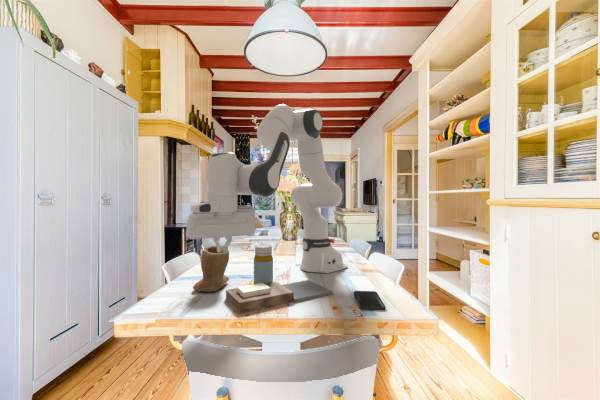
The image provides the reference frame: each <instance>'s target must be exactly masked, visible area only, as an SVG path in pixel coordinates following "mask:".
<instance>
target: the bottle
mask: <svg viewBox="0 0 600 400" xmlns="http://www.w3.org/2000/svg"><path fill="white" fill-rule="evenodd" d="M270 282H274V257H273V246H272V245H271V244H257V245H255V246H254V258H253V284H259V283H270Z"/></svg>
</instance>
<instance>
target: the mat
mask: <svg viewBox="0 0 600 400" xmlns="http://www.w3.org/2000/svg"><path fill="white" fill-rule="evenodd" d="M281 285H282V286H284V287H286V288H287V289H289V290H291V291H293V292H294V301H293V302H294V303H298V302H303V301H308V300H312V299H317V298H323V297H325V296H330V295H333V294H334V291H333V290H331V289H329V288H327V287H326V286H325V287H324V286H323V285H320V284H319V283H316V282H314V281H312V280H310V279H307V280H303V281H302V280H301V281H295V282H291V283H290V282H289V283H284V284H281Z"/></svg>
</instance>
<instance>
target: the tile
mask: <svg viewBox="0 0 600 400" xmlns="http://www.w3.org/2000/svg"><path fill="white" fill-rule="evenodd" d="M236 288H237V292H238V293H239V294H240V295H241V296H242V297H249V296H255V295H260V294H265V293H270V292H271V288H270V287H269V286H267V285H265V284H264V283H259V284H254V283H253V284H248V285H247V284H246V285H241V286H237V287H236Z"/></svg>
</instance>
